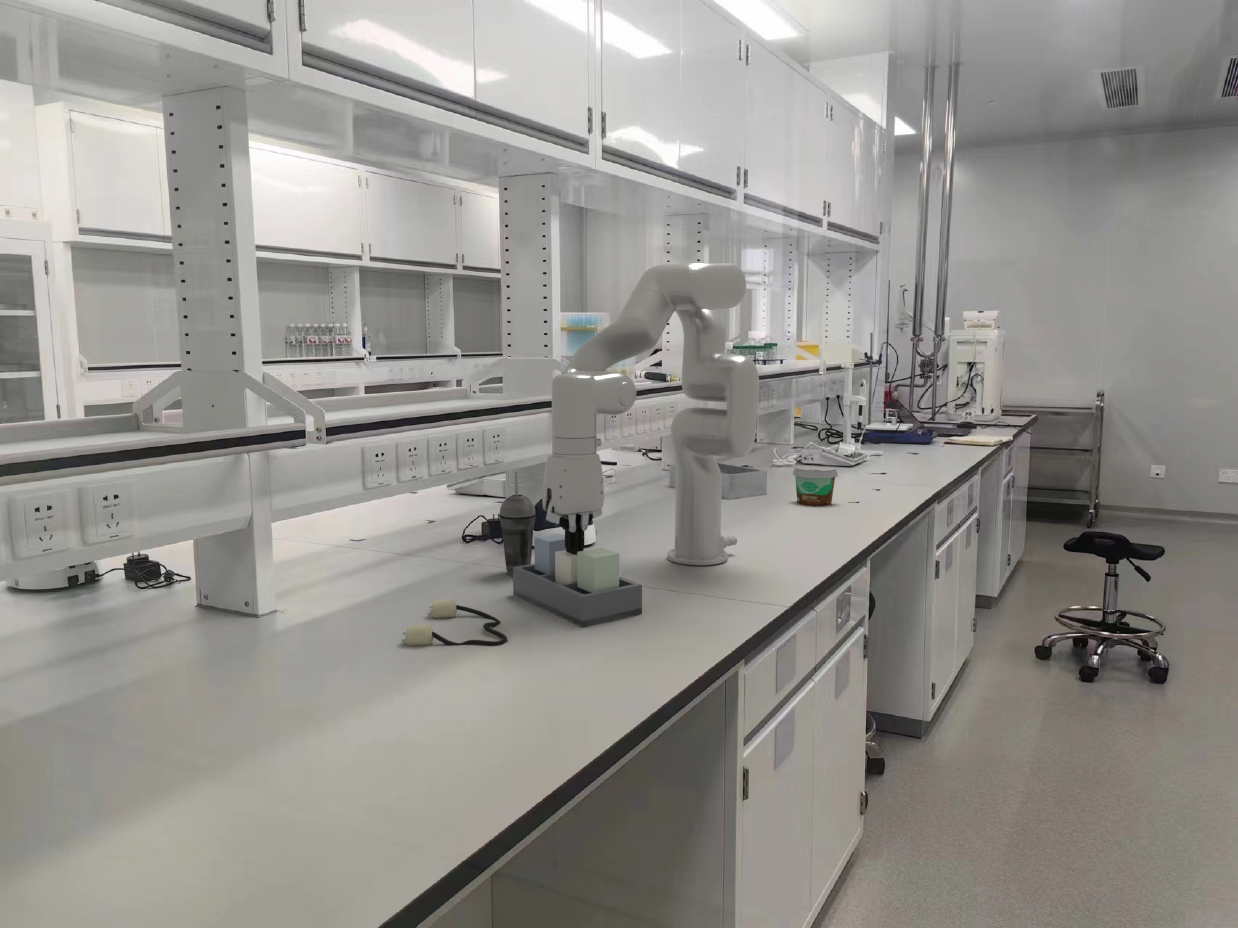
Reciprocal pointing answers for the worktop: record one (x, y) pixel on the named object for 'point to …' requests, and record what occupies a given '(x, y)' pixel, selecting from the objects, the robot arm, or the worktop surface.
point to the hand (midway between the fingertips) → (574, 552)
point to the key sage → (597, 570)
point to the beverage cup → (517, 529)
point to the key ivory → (565, 567)
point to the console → (577, 597)
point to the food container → (814, 486)
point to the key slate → (547, 551)
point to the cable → (447, 610)
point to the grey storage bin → (736, 481)
